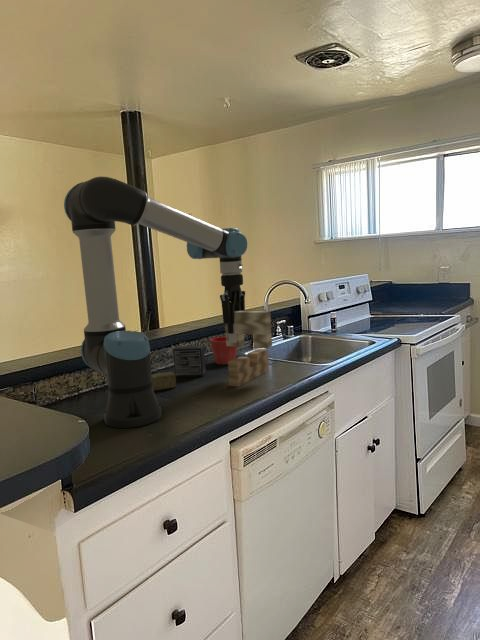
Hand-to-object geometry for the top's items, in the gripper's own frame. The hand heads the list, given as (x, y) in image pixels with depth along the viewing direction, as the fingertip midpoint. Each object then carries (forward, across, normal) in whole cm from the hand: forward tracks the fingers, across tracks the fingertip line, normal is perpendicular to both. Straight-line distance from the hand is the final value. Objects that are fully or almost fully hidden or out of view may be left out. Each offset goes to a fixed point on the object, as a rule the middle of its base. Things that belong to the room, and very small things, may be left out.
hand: (236, 341), depth 169 cm
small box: (+13, -3, +18) cm, 22 cm away
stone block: (+13, -22, +18) cm, 31 cm away
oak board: (+13, 0, -5) cm, 14 cm away
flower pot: (+13, +18, +16) cm, 27 cm away
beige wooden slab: (+2, 0, -5) cm, 5 cm away
